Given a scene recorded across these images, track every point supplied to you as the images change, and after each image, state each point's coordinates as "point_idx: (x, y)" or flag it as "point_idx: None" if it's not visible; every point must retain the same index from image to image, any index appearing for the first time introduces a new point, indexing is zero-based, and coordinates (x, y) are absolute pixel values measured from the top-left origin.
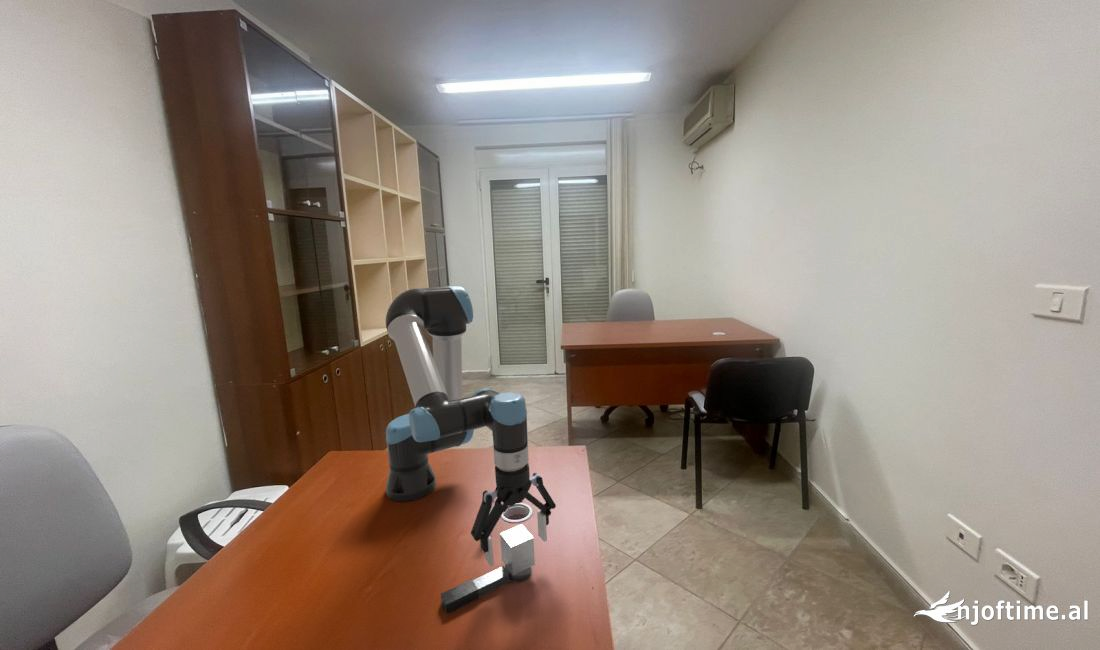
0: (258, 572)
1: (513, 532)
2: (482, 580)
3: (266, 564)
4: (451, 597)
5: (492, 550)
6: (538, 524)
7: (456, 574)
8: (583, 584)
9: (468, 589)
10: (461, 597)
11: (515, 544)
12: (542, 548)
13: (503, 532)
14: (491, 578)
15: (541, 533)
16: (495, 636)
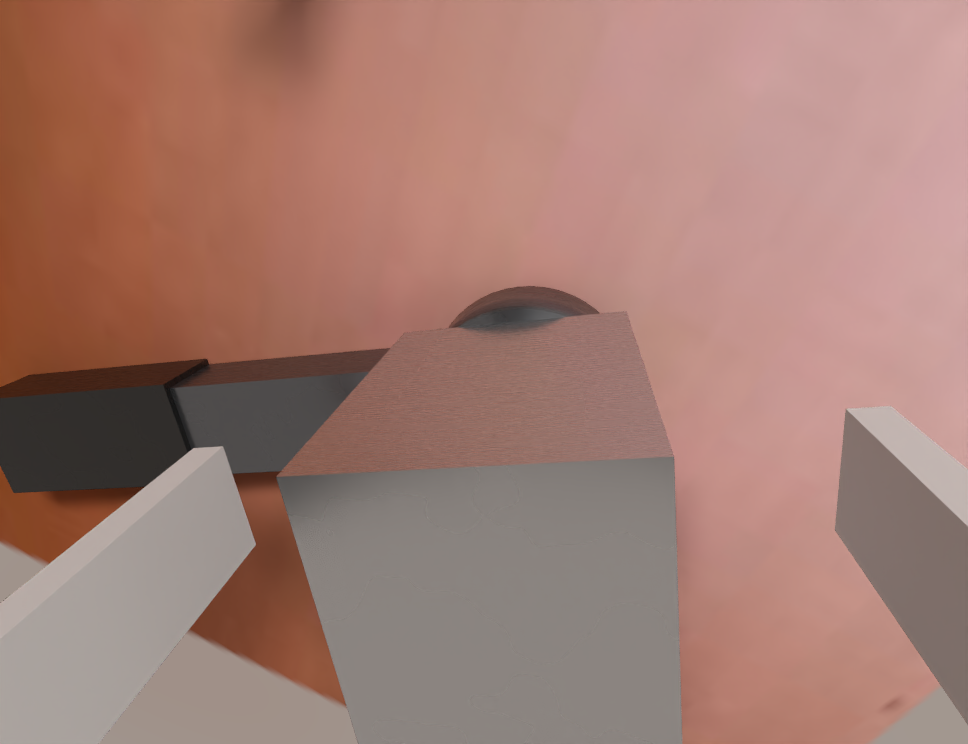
0: None
1: (467, 562)
2: (236, 424)
3: None
4: (38, 461)
5: (152, 672)
6: (942, 529)
7: (96, 180)
8: (861, 665)
9: (139, 455)
10: (100, 486)
11: (420, 738)
12: (842, 235)
13: (328, 485)
14: (299, 436)
15: (877, 526)
16: (292, 666)
